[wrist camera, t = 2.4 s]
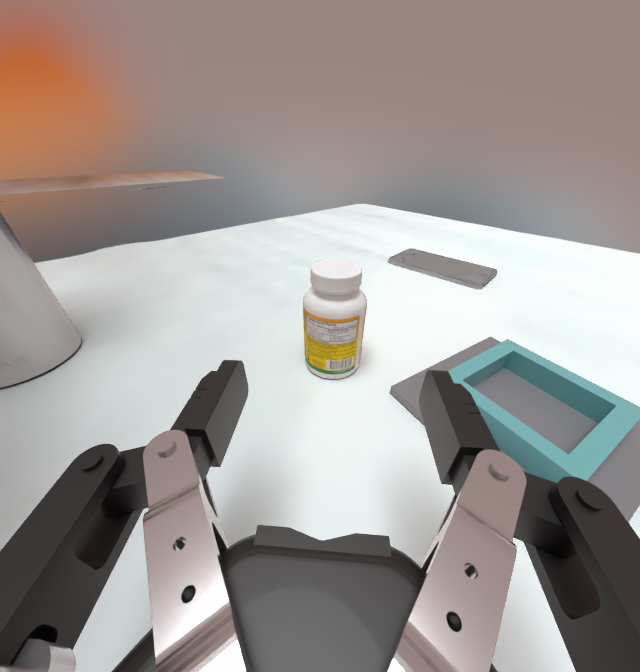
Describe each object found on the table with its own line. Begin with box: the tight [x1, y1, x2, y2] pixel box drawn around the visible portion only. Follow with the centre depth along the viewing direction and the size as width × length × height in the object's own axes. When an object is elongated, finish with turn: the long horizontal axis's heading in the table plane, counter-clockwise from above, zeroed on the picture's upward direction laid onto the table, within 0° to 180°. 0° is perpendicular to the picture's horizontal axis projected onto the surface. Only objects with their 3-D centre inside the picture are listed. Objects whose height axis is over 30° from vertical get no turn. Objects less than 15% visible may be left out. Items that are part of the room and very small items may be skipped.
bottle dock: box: [390, 337, 640, 522], centre depth 20 cm, size 14×14×3 cm
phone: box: [388, 249, 497, 289], centre depth 46 cm, size 8×16×1 cm, turn 46°
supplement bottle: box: [303, 259, 367, 379], centre depth 24 cm, size 5×5×10 cm
